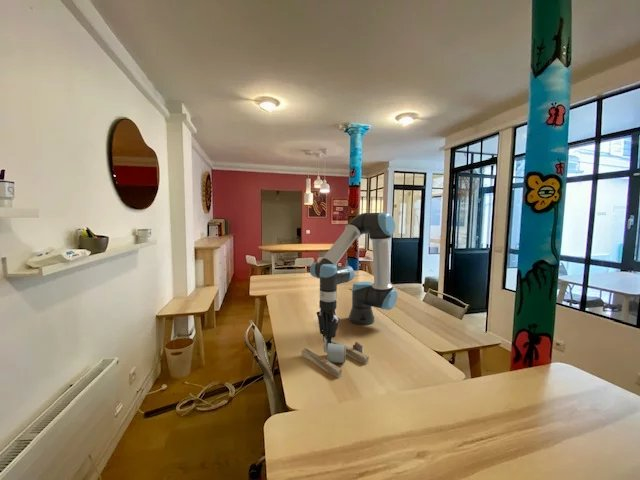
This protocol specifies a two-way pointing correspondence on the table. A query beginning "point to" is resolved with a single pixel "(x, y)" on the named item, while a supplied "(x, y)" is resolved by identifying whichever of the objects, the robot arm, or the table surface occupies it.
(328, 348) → the ceramic mug
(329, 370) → the beam channel
